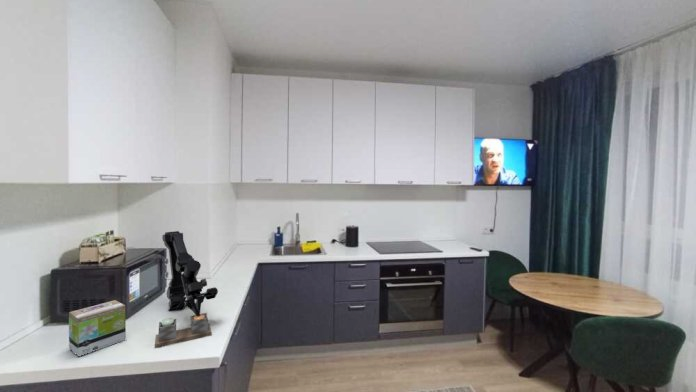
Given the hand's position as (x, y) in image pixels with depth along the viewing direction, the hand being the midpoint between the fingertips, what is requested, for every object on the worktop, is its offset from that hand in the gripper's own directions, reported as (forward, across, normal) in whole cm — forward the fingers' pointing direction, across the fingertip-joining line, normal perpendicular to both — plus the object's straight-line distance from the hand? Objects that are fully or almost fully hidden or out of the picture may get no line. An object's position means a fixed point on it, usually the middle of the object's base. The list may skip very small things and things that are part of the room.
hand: (198, 315), depth 126 cm
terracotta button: (+2, 0, +1) cm, 2 cm away
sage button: (-1, -11, +2) cm, 11 cm away
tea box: (-6, -32, +17) cm, 37 cm away
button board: (+5, -6, +6) cm, 9 cm away
